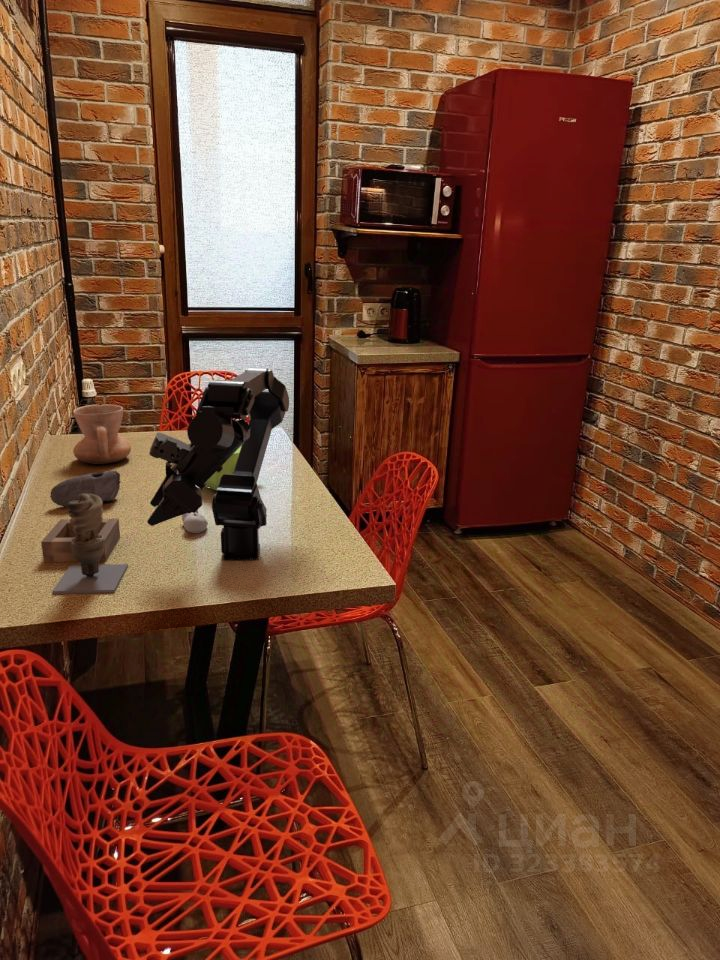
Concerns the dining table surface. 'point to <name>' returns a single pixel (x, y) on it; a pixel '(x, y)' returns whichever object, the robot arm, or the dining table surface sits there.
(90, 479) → the perforated stone tool
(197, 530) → the pale two-lobed sculpture
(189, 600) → the dining table surface
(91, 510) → the light bulb
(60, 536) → the socket block
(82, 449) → the ceramic jug
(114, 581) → the rubber mat
